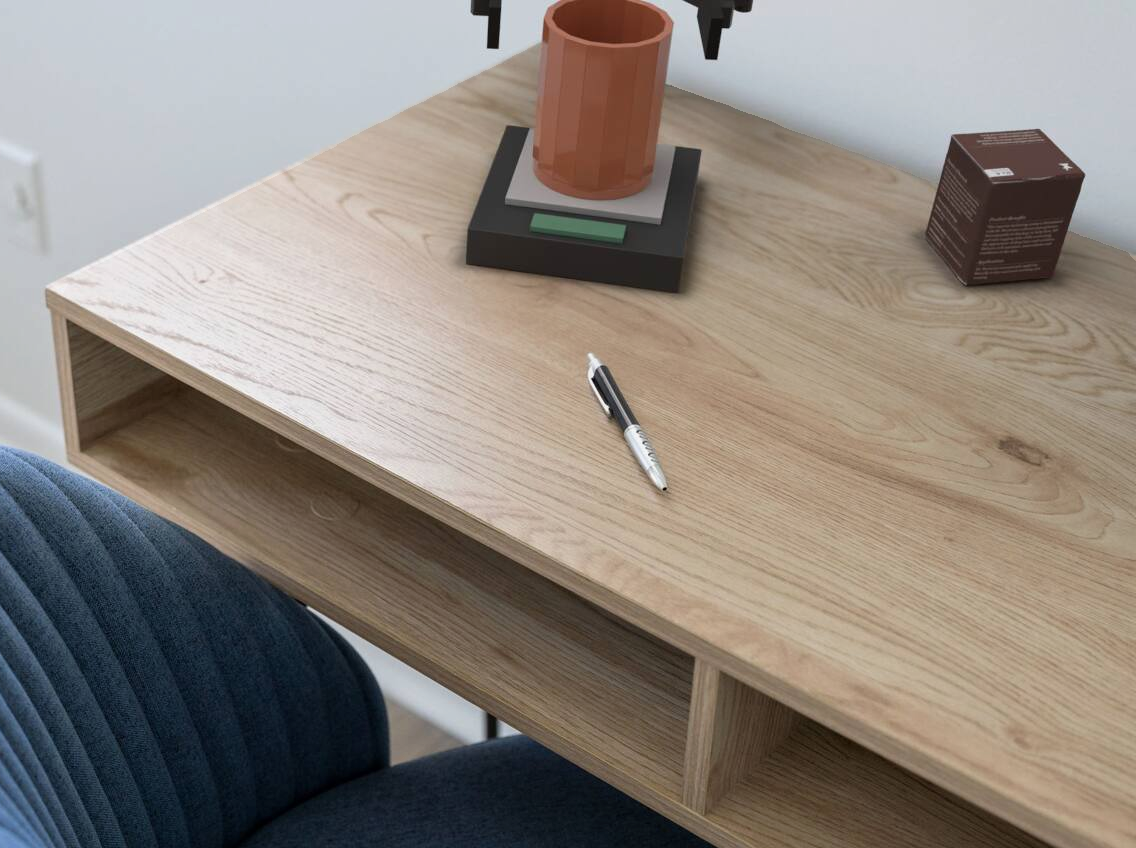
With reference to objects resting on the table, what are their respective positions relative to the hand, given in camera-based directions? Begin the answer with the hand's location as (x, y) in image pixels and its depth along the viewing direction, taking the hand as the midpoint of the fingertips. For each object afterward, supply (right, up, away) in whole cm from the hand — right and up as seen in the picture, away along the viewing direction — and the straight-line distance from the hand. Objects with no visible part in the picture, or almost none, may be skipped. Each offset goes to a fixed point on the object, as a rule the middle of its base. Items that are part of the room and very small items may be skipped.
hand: (604, 34), depth 100 cm
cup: (0, -8, +2) cm, 8 cm away
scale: (-1, -11, +3) cm, 12 cm away
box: (+24, -14, +1) cm, 28 cm away
